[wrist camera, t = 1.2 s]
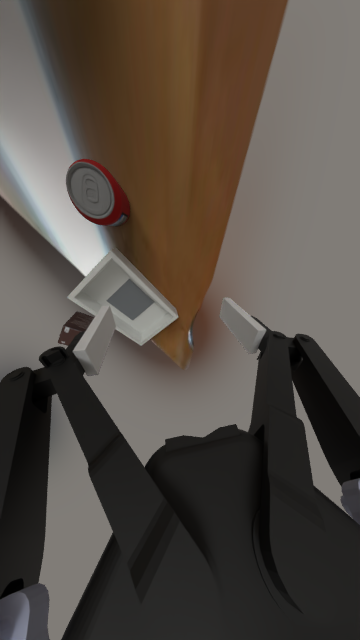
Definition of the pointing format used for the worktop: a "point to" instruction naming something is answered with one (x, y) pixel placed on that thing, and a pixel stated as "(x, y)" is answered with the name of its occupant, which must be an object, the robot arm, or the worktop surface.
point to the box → (74, 327)
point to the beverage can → (97, 193)
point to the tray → (125, 298)
